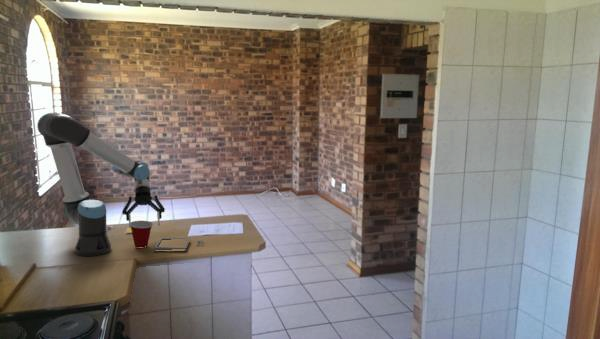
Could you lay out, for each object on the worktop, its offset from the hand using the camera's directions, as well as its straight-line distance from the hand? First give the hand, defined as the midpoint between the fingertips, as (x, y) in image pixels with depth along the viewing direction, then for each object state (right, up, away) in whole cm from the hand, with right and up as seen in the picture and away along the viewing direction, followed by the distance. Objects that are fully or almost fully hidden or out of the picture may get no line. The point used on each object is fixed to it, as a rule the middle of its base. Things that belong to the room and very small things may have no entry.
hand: (144, 225), depth 210 cm
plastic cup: (0, -10, -3) cm, 11 cm away
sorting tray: (+15, -11, -1) cm, 18 cm away
